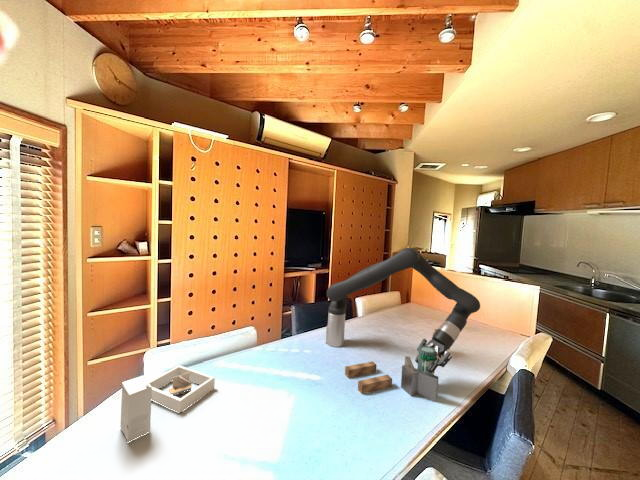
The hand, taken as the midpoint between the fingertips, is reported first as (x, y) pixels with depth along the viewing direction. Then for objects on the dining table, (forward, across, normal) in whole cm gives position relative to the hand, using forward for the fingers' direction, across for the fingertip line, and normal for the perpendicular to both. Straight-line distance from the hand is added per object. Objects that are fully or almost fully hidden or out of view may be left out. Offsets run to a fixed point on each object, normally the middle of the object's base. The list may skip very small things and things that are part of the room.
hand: (422, 366), depth 105 cm
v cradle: (+9, 0, +3) cm, 10 cm away
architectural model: (+69, -26, -57) cm, 93 cm away
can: (+5, 0, +7) cm, 8 cm away
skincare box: (+77, -11, -65) cm, 101 cm away
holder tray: (+70, -27, -58) cm, 94 cm away
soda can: (-15, -20, +28) cm, 37 cm away
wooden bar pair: (+19, -11, -7) cm, 23 cm away
